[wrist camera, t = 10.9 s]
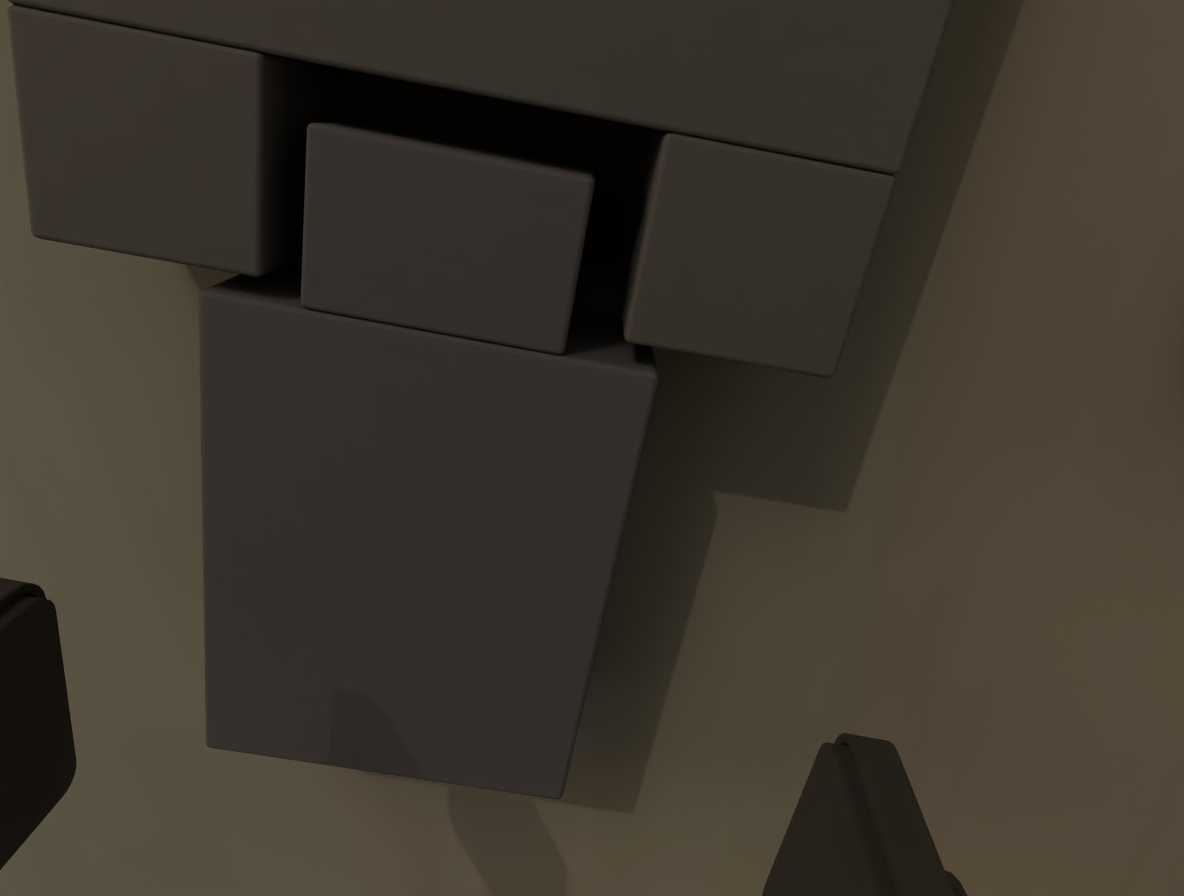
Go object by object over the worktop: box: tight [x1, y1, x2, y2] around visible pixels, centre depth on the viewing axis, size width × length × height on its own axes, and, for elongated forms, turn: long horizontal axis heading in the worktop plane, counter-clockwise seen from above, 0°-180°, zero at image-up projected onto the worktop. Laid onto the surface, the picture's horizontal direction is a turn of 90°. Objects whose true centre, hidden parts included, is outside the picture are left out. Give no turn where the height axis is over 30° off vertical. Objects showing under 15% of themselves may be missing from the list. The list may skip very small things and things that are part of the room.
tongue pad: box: [199, 123, 659, 799], centre depth 14 cm, size 7×12×3 cm, turn 169°
